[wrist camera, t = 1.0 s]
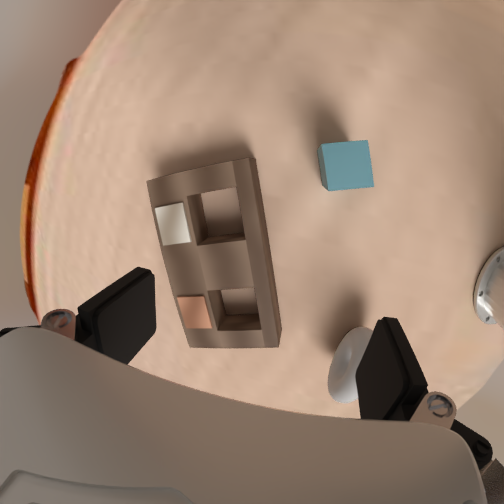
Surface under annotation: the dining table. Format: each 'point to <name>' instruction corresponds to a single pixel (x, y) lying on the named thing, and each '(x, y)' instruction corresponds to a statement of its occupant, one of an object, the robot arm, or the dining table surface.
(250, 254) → the socket block
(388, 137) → the dining table surface
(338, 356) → the donut
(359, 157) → the plug
